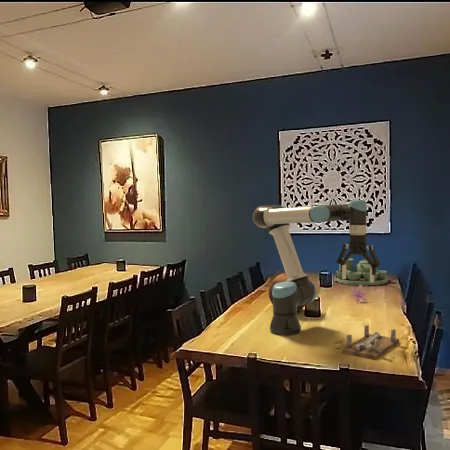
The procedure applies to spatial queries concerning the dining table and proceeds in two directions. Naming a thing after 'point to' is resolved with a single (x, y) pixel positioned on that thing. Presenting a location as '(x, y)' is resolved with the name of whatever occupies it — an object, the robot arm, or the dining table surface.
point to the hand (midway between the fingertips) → (357, 280)
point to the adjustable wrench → (368, 342)
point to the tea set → (360, 274)
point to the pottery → (277, 280)
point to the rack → (379, 344)
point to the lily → (359, 294)
